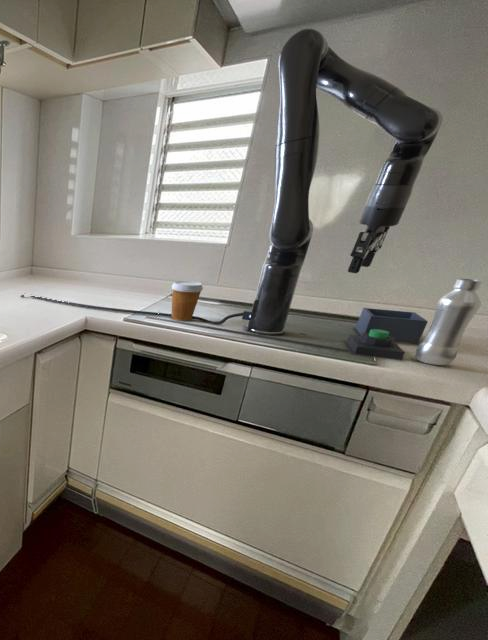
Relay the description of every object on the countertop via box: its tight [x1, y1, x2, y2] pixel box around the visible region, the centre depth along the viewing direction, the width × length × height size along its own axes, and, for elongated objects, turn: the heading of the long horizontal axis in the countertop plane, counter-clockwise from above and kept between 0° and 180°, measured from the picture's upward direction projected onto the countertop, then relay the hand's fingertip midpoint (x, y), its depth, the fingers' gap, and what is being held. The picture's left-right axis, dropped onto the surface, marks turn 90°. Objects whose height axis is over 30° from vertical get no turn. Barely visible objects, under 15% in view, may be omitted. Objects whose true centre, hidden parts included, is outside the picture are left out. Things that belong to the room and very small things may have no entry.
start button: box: [368, 329, 389, 339], centre depth 104 cm, size 4×4×2 cm
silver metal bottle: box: [414, 278, 482, 366], centre depth 93 cm, size 6×7×20 cm
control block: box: [346, 333, 406, 361], centre depth 105 cm, size 9×12×4 cm
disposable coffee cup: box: [170, 280, 204, 322], centre depth 135 cm, size 10×10×12 cm
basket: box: [355, 307, 429, 345], centre depth 117 cm, size 12×12×7 cm
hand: (358, 269), depth 107 cm, fingers open, 8 cm apart
